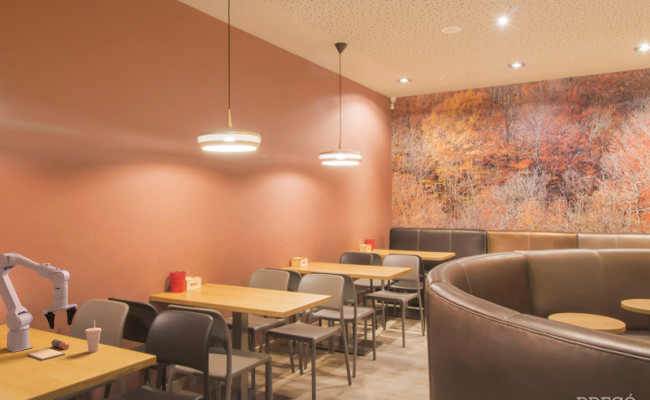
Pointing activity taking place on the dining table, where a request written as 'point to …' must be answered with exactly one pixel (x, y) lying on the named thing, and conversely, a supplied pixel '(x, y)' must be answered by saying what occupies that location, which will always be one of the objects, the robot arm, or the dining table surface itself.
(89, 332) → the smoothie
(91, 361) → the dining table surface
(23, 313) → the robot arm
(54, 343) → the marker
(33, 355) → the notepad
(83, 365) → the dining table surface
